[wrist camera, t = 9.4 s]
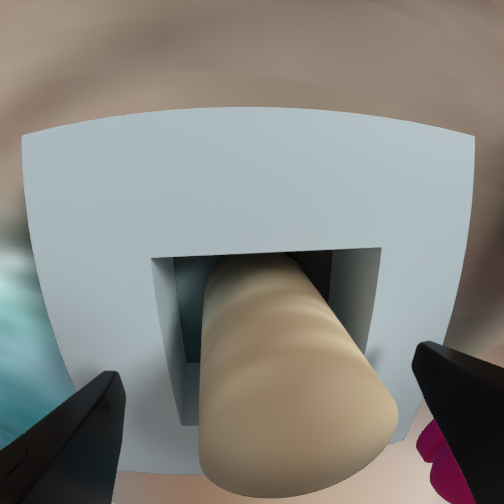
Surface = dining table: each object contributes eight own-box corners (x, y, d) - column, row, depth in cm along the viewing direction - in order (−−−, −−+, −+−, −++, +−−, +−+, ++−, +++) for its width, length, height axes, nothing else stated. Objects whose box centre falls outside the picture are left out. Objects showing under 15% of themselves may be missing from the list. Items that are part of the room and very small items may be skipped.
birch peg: (309, 244, 13) (422, 361, 5) (303, 335, 14) (371, 478, 6) (200, 248, 12) (183, 393, 5) (207, 343, 14) (210, 504, 6)
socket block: (412, 135, 12) (474, 136, 8) (374, 393, 16) (403, 439, 12) (76, 138, 10) (21, 135, 6) (129, 414, 14) (116, 470, 11)
